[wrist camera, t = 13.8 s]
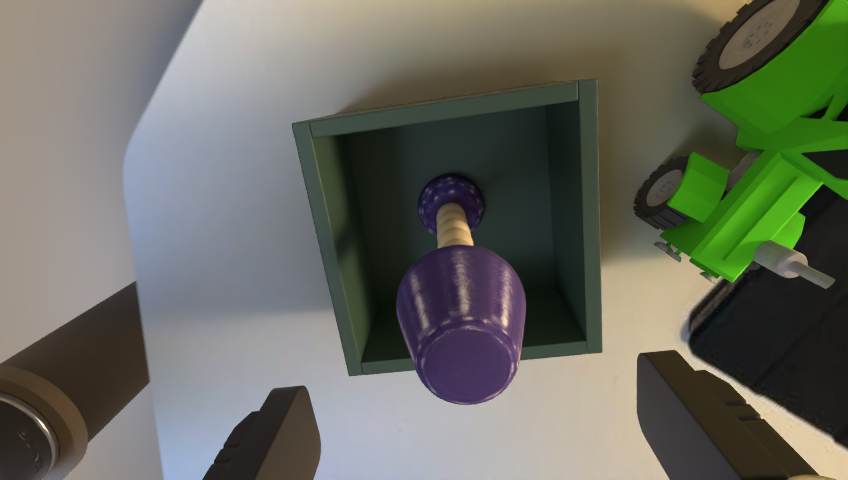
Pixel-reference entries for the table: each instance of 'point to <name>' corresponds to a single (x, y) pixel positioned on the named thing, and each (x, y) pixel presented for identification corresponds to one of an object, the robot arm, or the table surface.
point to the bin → (502, 220)
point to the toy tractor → (761, 142)
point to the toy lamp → (460, 301)
